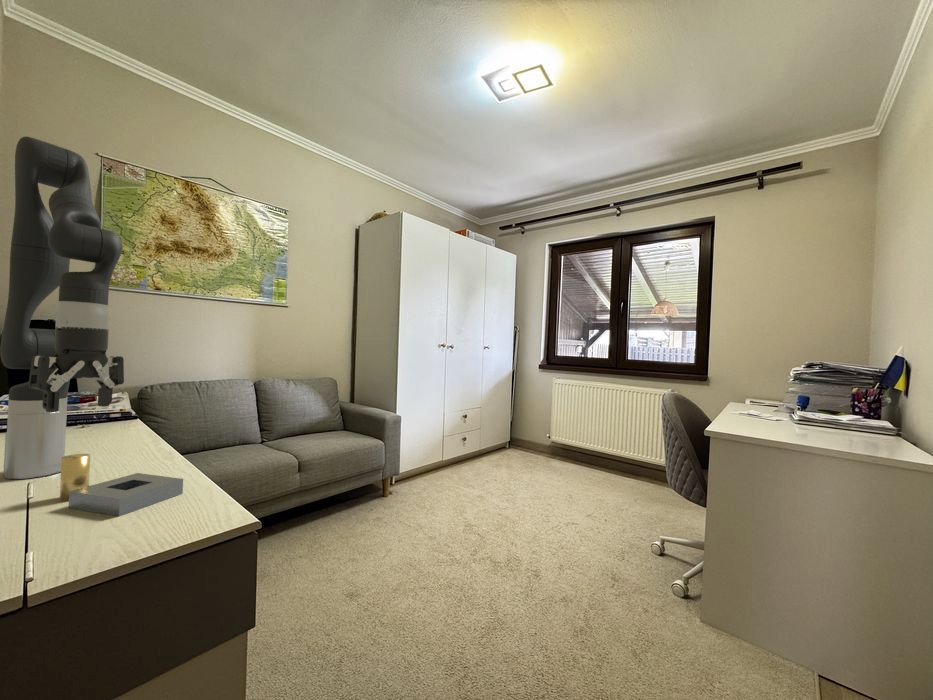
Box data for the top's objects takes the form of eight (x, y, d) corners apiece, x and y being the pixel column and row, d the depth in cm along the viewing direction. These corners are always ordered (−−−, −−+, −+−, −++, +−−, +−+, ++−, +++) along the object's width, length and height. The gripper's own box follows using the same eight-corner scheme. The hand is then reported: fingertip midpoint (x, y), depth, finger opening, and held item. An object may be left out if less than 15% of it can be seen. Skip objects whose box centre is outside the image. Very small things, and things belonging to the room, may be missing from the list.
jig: (68, 507, 72) (69, 491, 72) (137, 487, 84) (137, 472, 84) (119, 516, 69) (119, 499, 69) (182, 493, 81) (183, 478, 81)
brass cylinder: (54, 499, 75) (55, 457, 76) (78, 492, 79) (80, 453, 79) (69, 502, 75) (71, 459, 75) (93, 494, 78) (95, 454, 79)
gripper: (108, 329, 85) (105, 403, 85) (21, 323, 71) (16, 412, 71) (135, 329, 84) (132, 406, 83) (51, 323, 70) (47, 415, 69)
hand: (79, 408), depth 77 cm, fingers open, 8 cm apart
